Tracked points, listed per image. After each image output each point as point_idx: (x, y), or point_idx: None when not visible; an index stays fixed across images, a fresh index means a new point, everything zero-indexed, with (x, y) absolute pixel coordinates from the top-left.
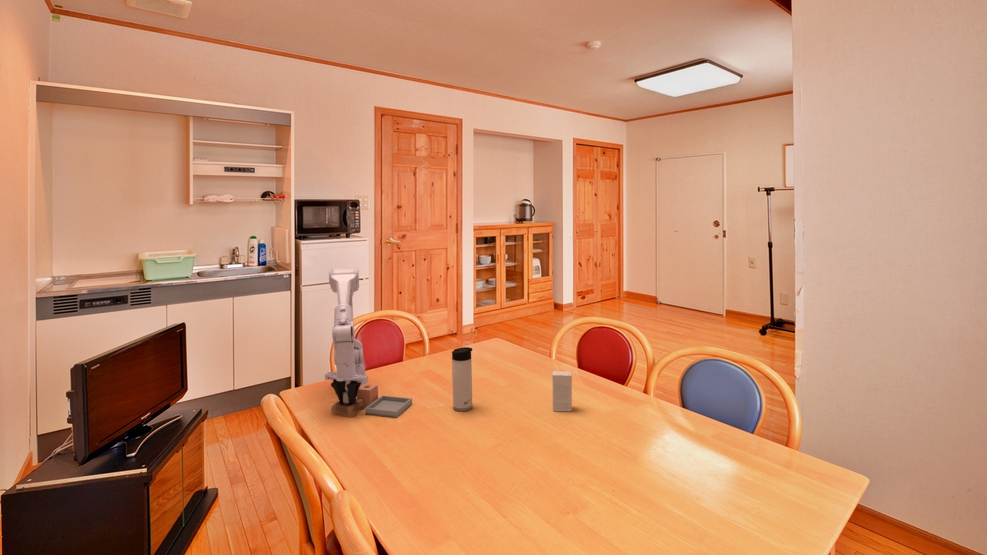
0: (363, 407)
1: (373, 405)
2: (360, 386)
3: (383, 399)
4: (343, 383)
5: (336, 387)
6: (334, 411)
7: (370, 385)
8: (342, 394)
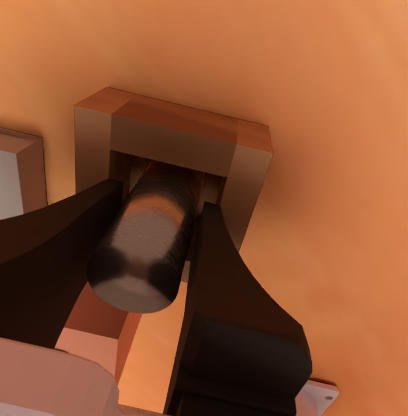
0: None
1: None
2: (113, 371)
3: None
4: (172, 378)
5: (213, 293)
6: (247, 129)
7: None
8: (176, 246)
